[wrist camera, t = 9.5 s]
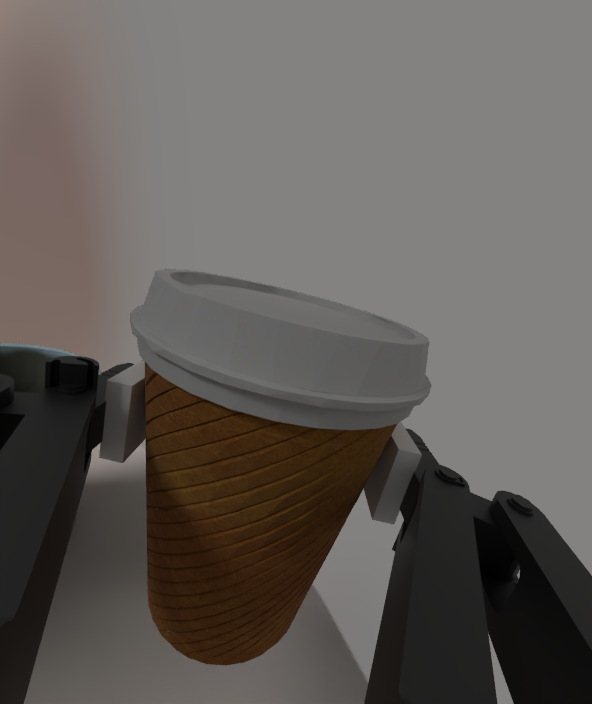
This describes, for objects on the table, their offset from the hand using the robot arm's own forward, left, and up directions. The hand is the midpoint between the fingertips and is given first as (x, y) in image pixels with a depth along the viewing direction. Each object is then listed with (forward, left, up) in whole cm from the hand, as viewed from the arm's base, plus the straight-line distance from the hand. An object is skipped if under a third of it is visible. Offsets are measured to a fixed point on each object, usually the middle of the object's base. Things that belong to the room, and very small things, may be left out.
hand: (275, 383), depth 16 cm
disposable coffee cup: (0, -5, -7) cm, 9 cm away
